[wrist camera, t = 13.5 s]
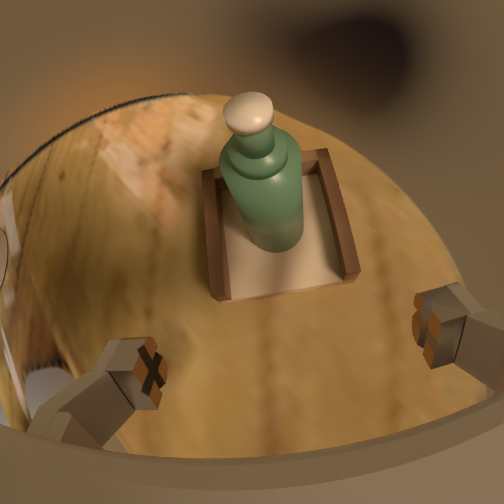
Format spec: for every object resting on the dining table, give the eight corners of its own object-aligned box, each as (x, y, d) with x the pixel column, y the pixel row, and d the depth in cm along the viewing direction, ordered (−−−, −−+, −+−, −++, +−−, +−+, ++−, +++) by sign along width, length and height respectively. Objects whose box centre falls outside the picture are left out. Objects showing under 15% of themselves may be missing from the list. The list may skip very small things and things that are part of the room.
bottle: (259, 261, 28) (213, 160, 14) (241, 213, 30) (190, 97, 16) (312, 240, 28) (315, 124, 14) (291, 194, 30) (274, 68, 16)
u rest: (221, 303, 29) (210, 296, 26) (212, 189, 33) (201, 171, 30) (354, 281, 28) (361, 270, 24) (325, 168, 32) (327, 148, 28)
